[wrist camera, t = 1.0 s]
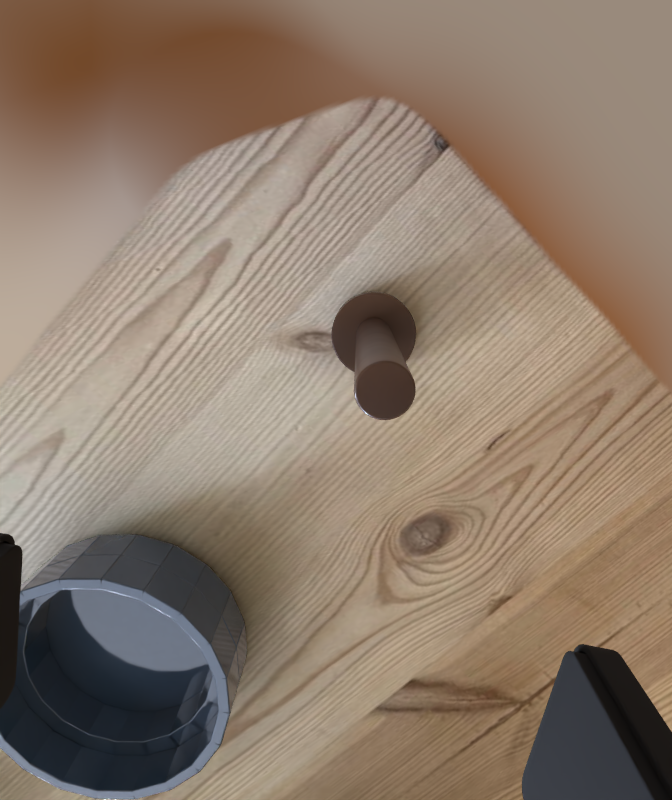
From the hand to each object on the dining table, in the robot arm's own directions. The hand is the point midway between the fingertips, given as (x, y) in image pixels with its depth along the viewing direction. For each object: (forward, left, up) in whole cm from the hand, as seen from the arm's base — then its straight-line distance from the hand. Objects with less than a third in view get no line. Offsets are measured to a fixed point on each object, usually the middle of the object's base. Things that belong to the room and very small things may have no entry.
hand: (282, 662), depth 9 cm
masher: (-2, +3, -25) cm, 25 cm away
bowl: (+12, -19, -25) cm, 34 cm away
